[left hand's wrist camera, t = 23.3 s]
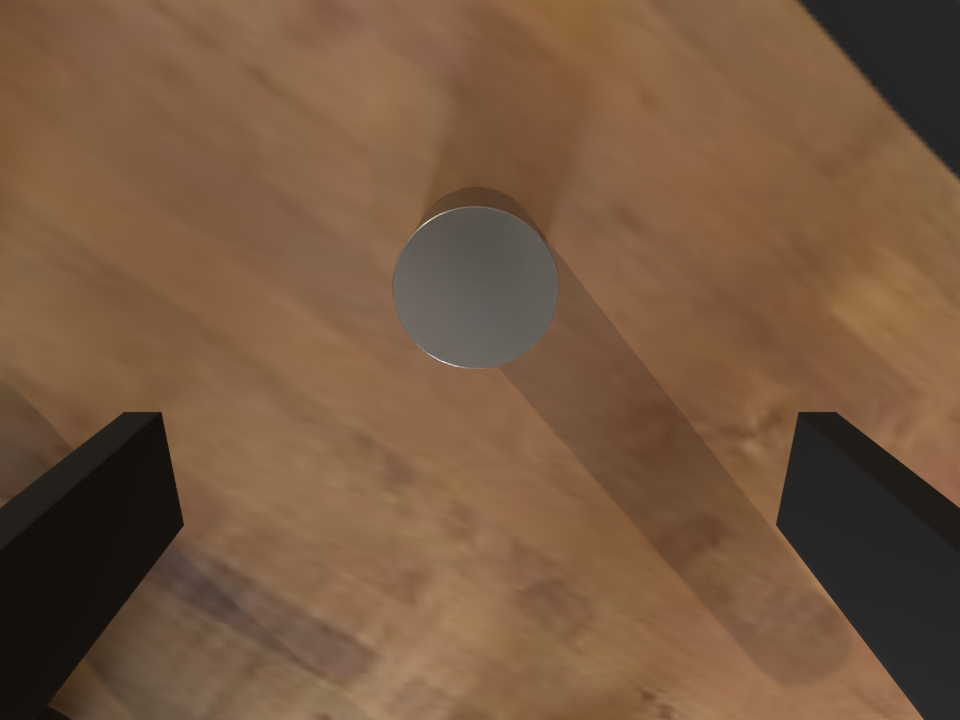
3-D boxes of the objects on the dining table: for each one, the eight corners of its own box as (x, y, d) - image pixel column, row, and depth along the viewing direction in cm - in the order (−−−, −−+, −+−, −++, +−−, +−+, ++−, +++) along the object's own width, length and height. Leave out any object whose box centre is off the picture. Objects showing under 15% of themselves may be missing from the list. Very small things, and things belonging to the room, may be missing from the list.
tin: (531, 315, 38) (548, 374, 29) (412, 306, 38) (390, 363, 28) (544, 192, 36) (569, 213, 26) (417, 182, 35) (394, 199, 26)
